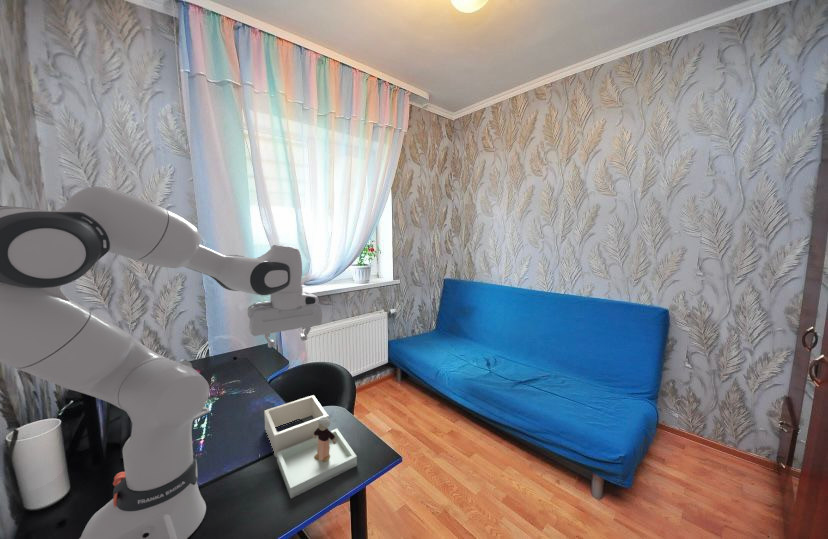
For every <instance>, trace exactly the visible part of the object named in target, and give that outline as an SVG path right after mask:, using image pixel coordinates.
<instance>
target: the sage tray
mask: <svg viewBox="0 0 828 539" xmlns="http://www.w3.org/2000/svg"><path fill="white" fill-rule="evenodd" d="M330 431H331V432H332V433H333V435H334V436H335V440H336V444H333V442H332V440H331V439H330V438H329V447H330V450H329V455H330V458H329V460H328V461H327V462H323V461H322V460H319V459H318V460H316V459H314V456H315V455H316V454H317V447H318V436H317V437H316V438H312V439H309V440H307V441H304V442H302V443H299V444H297V445H294V446H292V447H289V448H287V449H284V450H282V451H279V452H277V457H276V464H277V465H278V466H277V467H278V469H279V472H280V474H281V476H282V479H283V482H284V484H285V487H286V490H287V493H288V496H289V497H290V499H293V498H295V497H297V496H299V495H302V494H303V493H305V492H307V491H309V490H311V489H313V488H315V487H317V486H319V485H321V484H323V483H325V482H327V481H329V480H331V479H333V478H334V477H336V476H339V475H341V474H343V473H345V472H348V471H349V470H350V469H351V470H352V469H353V468H355V467H357V466H358V465H357V464H358V458H357V457H358V456H357V454H356V453H355V452H354V450H353V449H352V447H351V445H349V443H348V441H346V439H345V438H344V436H343V435H342V433H341V432H340V431H339V429H338V428H335V429H332V430H330Z"/></svg>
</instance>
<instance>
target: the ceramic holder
mask: <svg viewBox="0 0 828 539" xmlns="http://www.w3.org/2000/svg"><path fill="white" fill-rule="evenodd" d="M263 414H264V431H265V430H266V431H265V433H267V434H266V436H267V435H268V436H267V438H269V439H268V441H269V440H270V442H269V444H270V443H271V445H270V446H272V447H271V449H272V448H273V450H272V452H273V451H274V453H273V455H274V457H275V458H277V452H279V451H282V450H284V449H287V448H289V447H292V446H294V445H297V444H299V443H302V442H304V441H307V440H309V439H312V438H313V434H314V432H315V431H316V429H318V428H319V423H318V420H319V419H320V418H321V417H327V418H328V419H329V420H330V418H329V414H328V413H327V411H326V410H325V409H324V407H323V406H322V405H321V403H320V401H318V399H317V398H316V396H315V395H314V394H313V395H310V396H309V395H308V396H305V397H303V398H299V399H297V400H294V401H293V400H292V401H290V402H286V403H284V404H281V405H278V406H274V407H271V408H268V409H266V410H265V409H264V413H263ZM311 416H312V417H313V419H311V420H308V421H305V422H302V423H299V424H296V425H294V426H290V427H289V428H286V429H283V430H281V431H278V430H277V428H275V427H278V426H280V425H283V424H286V423H289V422H292V421H294V420H296V419H300V420H302V419H306V418H308V417H311ZM292 423H293V422H292ZM289 424H290V423H289ZM286 425H287V424H286ZM283 426H284V425H283ZM329 427H330V425H329V426H328V427H327V429H328V430H329V431H330V428H329ZM278 428H279V427H278ZM317 436H318V435H317ZM317 436H316V437H317Z"/></svg>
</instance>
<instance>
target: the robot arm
mask: <svg viewBox="0 0 828 539" xmlns="http://www.w3.org/2000/svg"><path fill="white" fill-rule="evenodd" d="M200 235H201V234H200V232H199V230H198V228H197V227H196V226H195V225H194V224H192V223H191V222H189V221H188V220H186V219H185V218H183V217H182V216H180V215H178V214H176V213H174V212H173V211H171V210H168V209H166V208H164V207H162V206H159V205H157V204H156V203H155V204H154V203H153V202H150V201H148V200H145V199H143V198H140V197H137V196H135V195H132V194H129V193H125V192H122V191H119V190H116V189H113V188H111V187H106V186H105V187H104V186H89V187H85V188H83V189H81V190H78V191H77V192H76V193H74V194H73V195H71V197H70V198H69V199H68V200H67V201H66V203H65V205H64V206H62V207H61V208H59V209H56V210H52V211H51V210H43V209H42V210H41V209H35V208H30V207H23V206H3V205H2V206H1V205H0V363H1V364H5V365H7V366H9V367H11V368H13V369H16V370H19V371H22V372H24V373H27V374H29V375H32V376H34V377H37V378H39V379H41V380H44V381H47V382H49V383H51V384H55V385H58V386H60V387H62V388H63V389H64V388H65V389H67V390H70V391H75V392H78V393H81V394H83V395H87V396H90V397H92V398H93V397H94V398H96V399H98V400H100V401H101V400H102V401H104V402H106V403H109V404H110V405H113V406H114V407H117V408H119V409H120V410H122V411H124V412H126V414H127V416H128V417H129V418H130V421H131V432H130V436H129V437H128V439H127V440H126V441H125V442H124V445H123V447H122V459H123V468H124V471H120V472H118V473H116V474H115V476H114V477H113V482H112V485H113V486H114V488H113V491H112V499H110V500H109V501H108V502H107V503H106V504H105V505H103V507H101V508H100V509H99V510H98V511H96V512H95V513H94V514H92V516H91V518H90V519H89V521H88V522H87V524H86V525H85V528H84V529H83V531H82V533H81V536H80V537H79V539H188V538H189V537H190V536H192V534H194V532H195V531H196V530H197V529H198V528H199V526H200V524H201V523H202V522H203V519H204V518H205V515H206V512H207V505H206V502H205V500H204V498H203V496H202V495H201V492H200V490H199V486H198V475H199V474H198V463H197V459H196V454H195V452H194V451H193V435H192V430H193V429H192V428H193V422H194V420H193V418H194V417H195V416H196V415H197V414H198V413H199V412H200V411H201V410H202V408H203V407H204V406H205V405H206V404H207V402H208V399H209V396H210V386H209V382H208V381H207V380H206V379H205V377H204V376H203V375H201V373H199V371H197V370H196V369H194V368H193V367H192V368H191V367H188V366H186V365H183V364H181V363H180V362H178V361H175V360H174V359H171V358H168V357H166V356H164V355H161V354H160V353H157V352H155V351H154V350H151V349H150V348H149V347H146V345H144V344H143V343H142V342H140V341H139V340H137V339H136V338H135V337H133V336H132V335H131V334H130V333H129V332H127V331H125V330H124V329H122V328H120V327H119V326H117V325H115V324H114V323H112V322H111V321H108V320H107V319H105V318H103V317H102V316H100V315H99V314H97V313H95V312H94V311H93V310H90V309H89V308H87V307H85V306H83V305H81V304H80V303H79V302H77V301H76V300H75V301H74V299H72V298H70V297H69V296H68V295H66V294H65V293H64V292H63V290H62V289H61V288H60V286H64V285H67V284H69V283H70V284H71V283H72V282H75V281H76V280H78V279H80V278H81V277H83V276H84V275H85V274H87V272H89V271H90V270H91V269H92V267H94V265H95V264H96V263H97V262H98V261H99V260H100V259H101V258H102V257H104V256H105V255H106V254H108V253H111V254H115V255H118V256H120V257H121V256H122V257H124V258H127V259H131V260H134V261H138V262H140V263H143V264H148V265H153V266H158V267H162V268H170V269H179V268H182V267H183V268H186V269H189V270H192V271H195V272H198V273H201V274H203V275H206V276H209V277H211V278H212V279H213V280H214V281H215V282H216V283H217V284H218V285H219V286H221V288H223V289H225V290H228V291H232V292H233V291H234V292H240V293H241V292H242V293H245V294H246V293H247V294H252V295H256V296H269V295H270V300H268V301H262V302H254V303H253V304H251V305H250V306H249V307H248V309H247V317H248V318H249V324H248V325H249V327H248V328H249V333H250V335H252V336H254V337H258V336H263V337H264V338H265V340H266V341H267V347H268V348H269V349H270V348H274V347H275V346H276V345H275V340H274V339H270V337H271V334H275V333H280V332H286V331H292V330H297V329H304V331H303V332H302V333H300V341H301V342H305V341H307V340H308V335H309V333H310V331H311V327H313V326H319V325H321V323H322V322H323V313H322V307H321V305H320V304H318V303H319V302H320V299H319V297H318V296H317V295H315V294H313V293H311V292H307V291H303V286H302V278H303V277H302V276H303V261H302V255H301V252H300V249H298V248H297V247H295V246H292V245H283V244H273V245H272V246H270V249H269V250H268V251H267V252H265V253H263V254H262V255H260V256H258V257H249V256H244V255H238V254H228V255H227V254H222V253H220V252H218V251H215V250H213V249H211V248H209V247H206V246H204V245H202V244H201V236H200Z"/></svg>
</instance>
